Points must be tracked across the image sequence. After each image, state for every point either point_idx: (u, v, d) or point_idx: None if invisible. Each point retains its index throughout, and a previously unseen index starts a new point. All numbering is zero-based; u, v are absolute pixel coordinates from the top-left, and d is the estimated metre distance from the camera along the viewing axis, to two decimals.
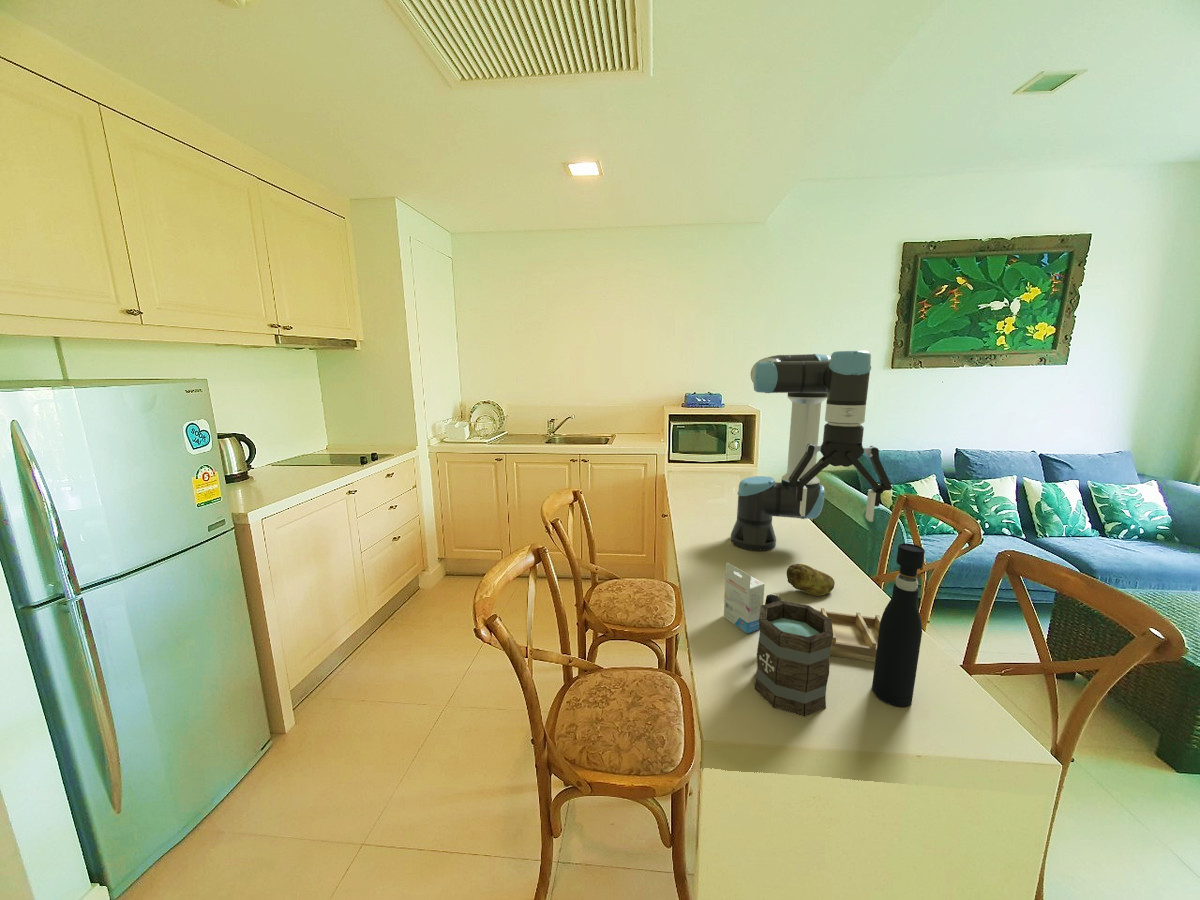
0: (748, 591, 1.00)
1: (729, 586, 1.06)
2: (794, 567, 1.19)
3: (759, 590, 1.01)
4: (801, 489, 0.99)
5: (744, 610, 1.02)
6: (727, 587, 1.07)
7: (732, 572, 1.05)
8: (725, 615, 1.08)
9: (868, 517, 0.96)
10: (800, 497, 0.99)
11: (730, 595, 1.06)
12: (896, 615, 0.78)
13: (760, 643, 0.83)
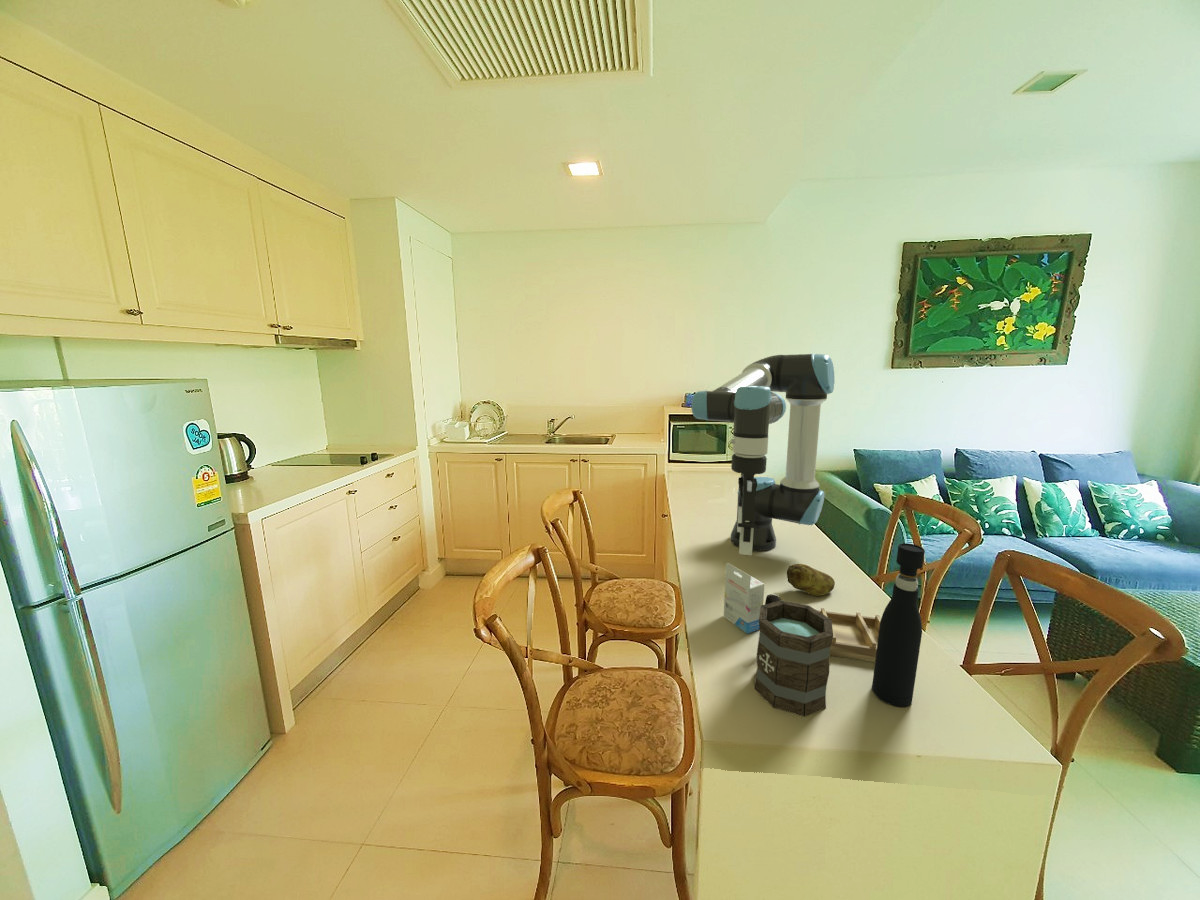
0: (748, 591, 1.00)
1: (729, 586, 1.06)
2: (794, 567, 1.19)
3: (759, 590, 1.01)
4: None
5: (744, 610, 1.02)
6: (727, 587, 1.07)
7: (732, 572, 1.05)
8: (725, 615, 1.08)
9: None
10: None
11: (730, 595, 1.06)
12: (896, 615, 0.78)
13: (760, 643, 0.83)
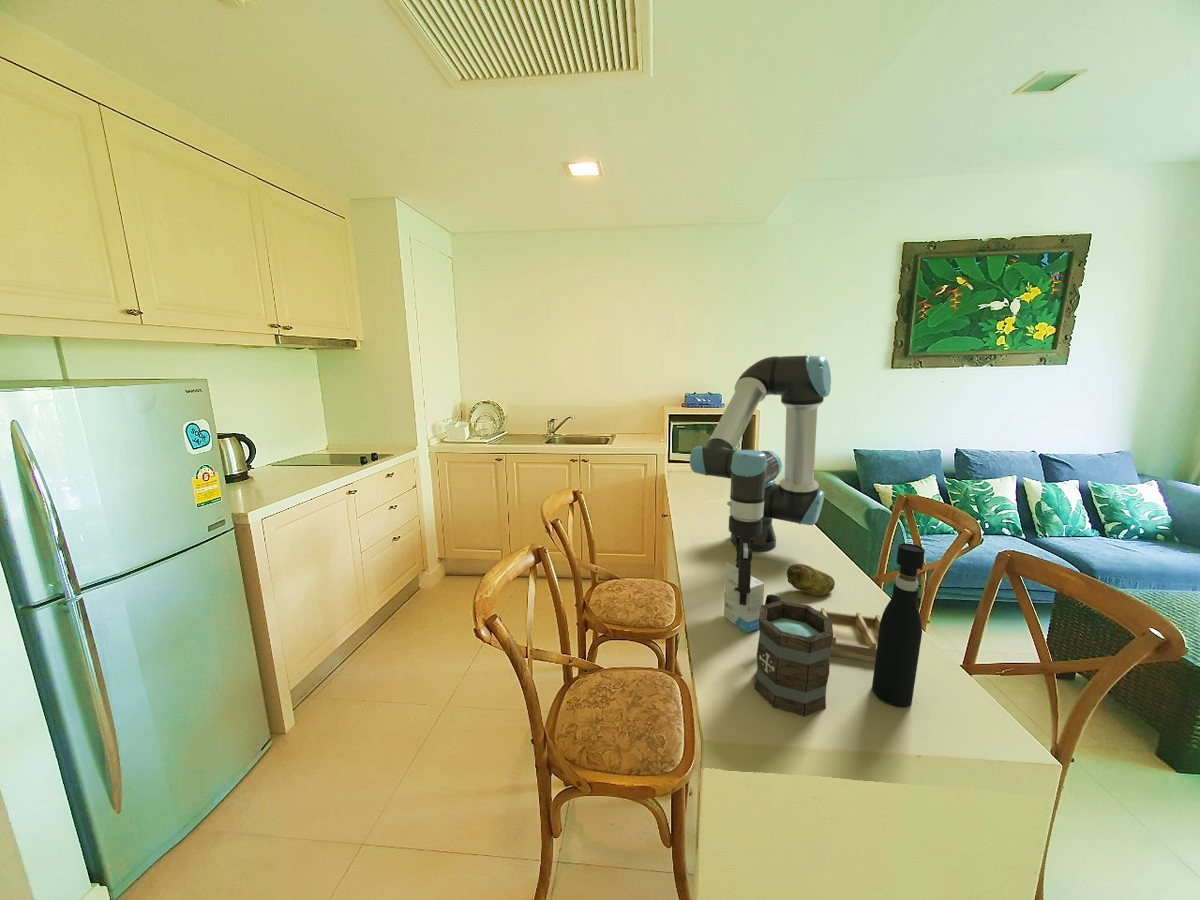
0: None
1: (729, 585, 1.06)
2: (794, 567, 1.19)
3: (759, 589, 1.01)
4: None
5: None
6: (727, 586, 1.07)
7: (732, 572, 1.05)
8: (725, 614, 1.09)
9: None
10: None
11: (730, 594, 1.06)
12: (896, 615, 0.78)
13: (760, 643, 0.83)
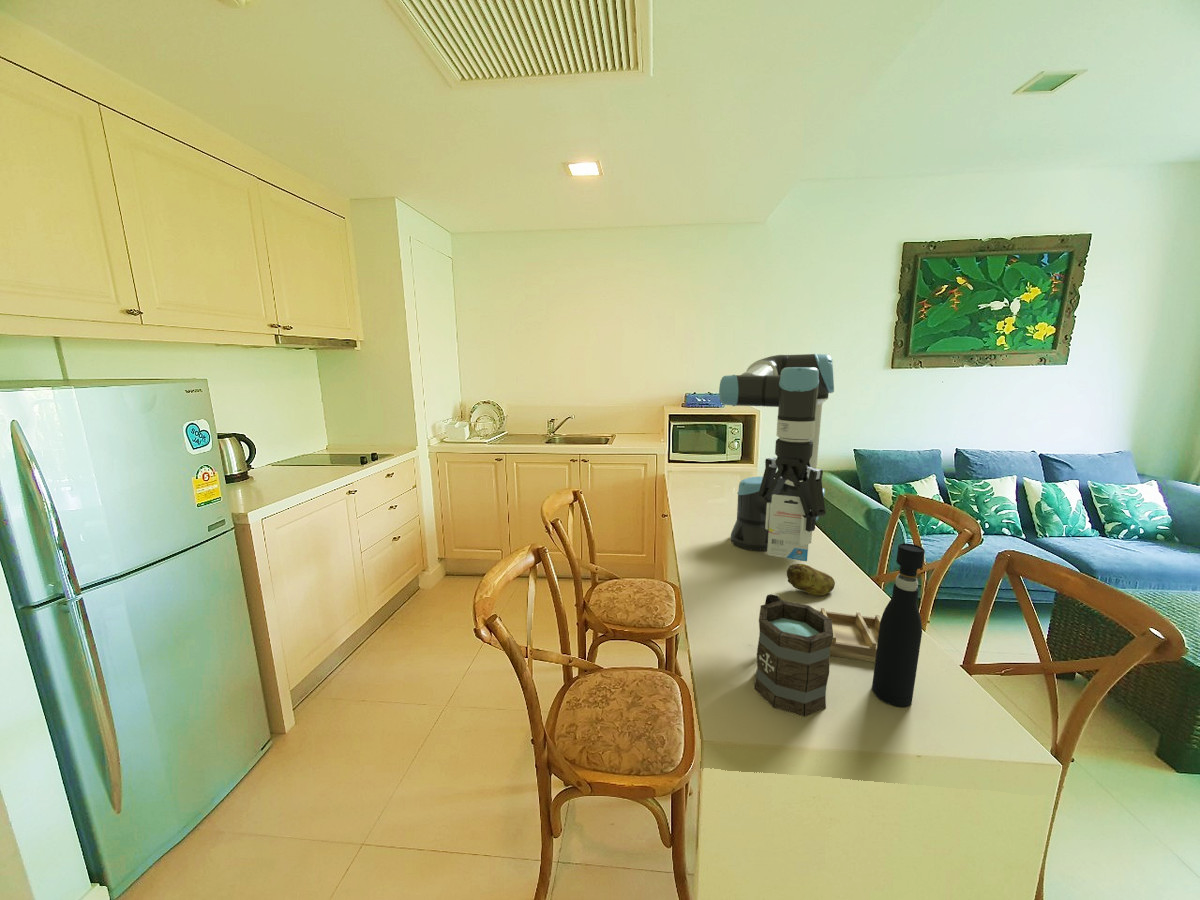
0: None
1: (778, 519, 0.97)
2: (794, 567, 1.19)
3: None
4: None
5: None
6: (774, 521, 0.98)
7: (782, 502, 0.97)
8: (771, 553, 1.00)
9: None
10: None
11: (780, 528, 0.98)
12: (896, 615, 0.78)
13: (760, 643, 0.83)
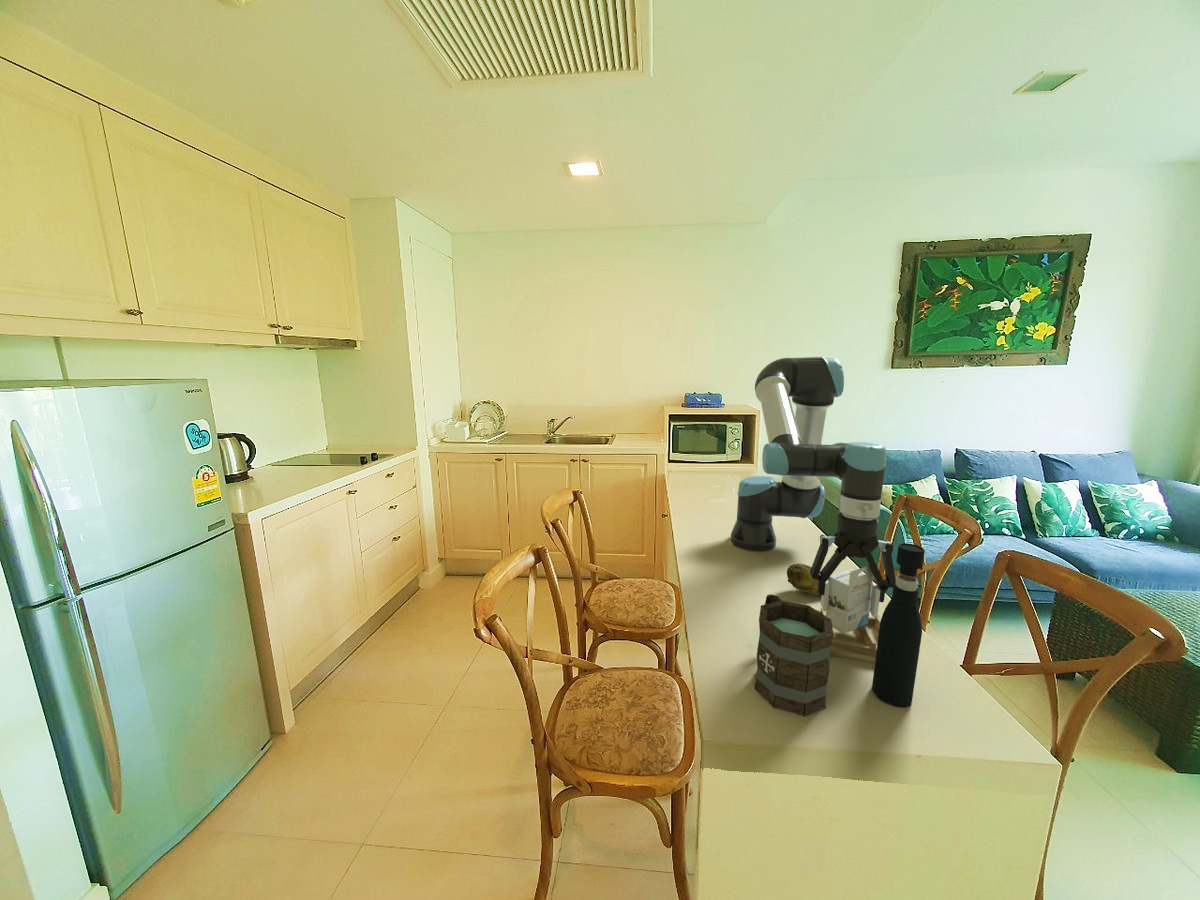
0: (872, 581, 0.96)
1: (854, 594, 0.94)
2: (794, 567, 1.19)
3: None
4: (823, 583, 0.97)
5: (867, 604, 0.97)
6: (851, 598, 0.94)
7: (857, 577, 0.93)
8: (847, 630, 0.95)
9: (872, 612, 0.95)
10: (822, 591, 0.97)
11: (854, 603, 0.94)
12: (896, 615, 0.78)
13: (760, 643, 0.83)
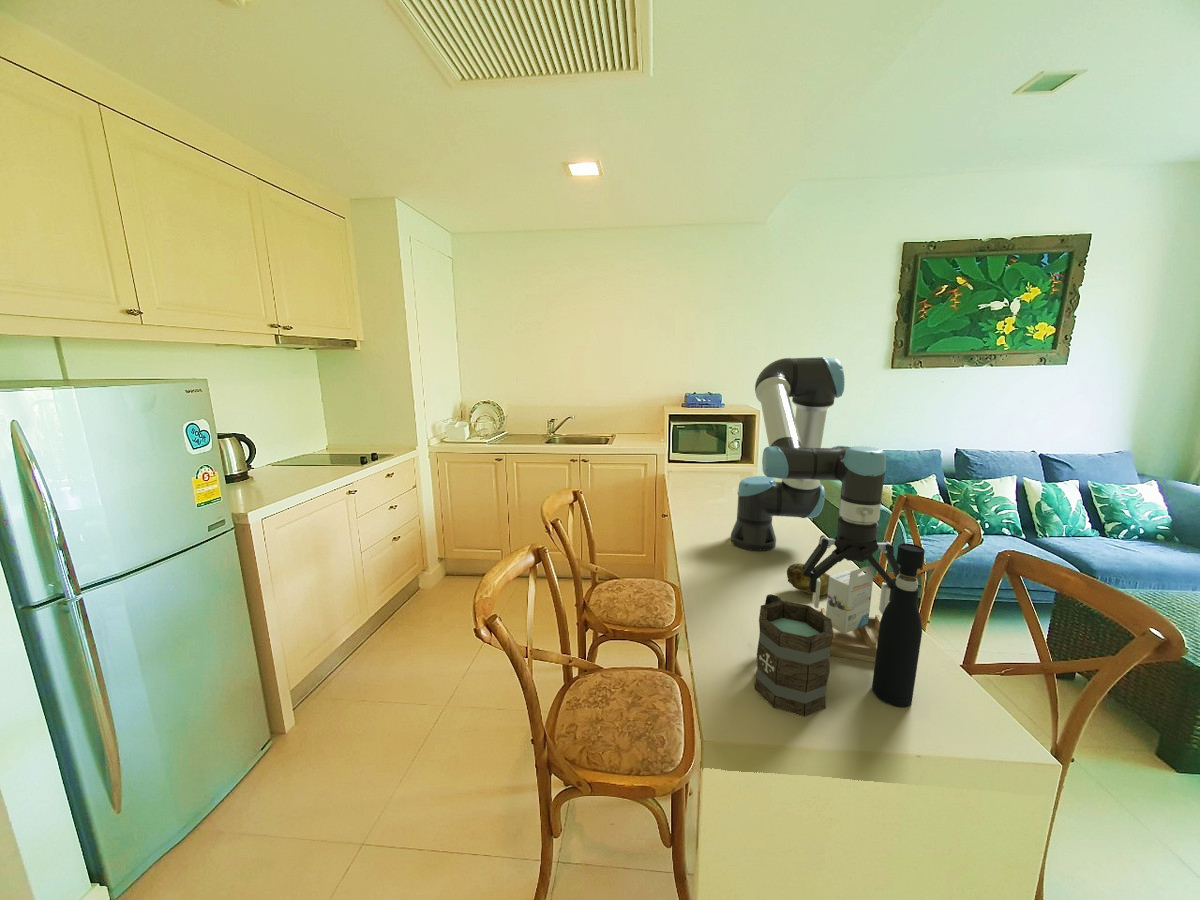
0: (872, 581, 0.96)
1: (854, 594, 0.94)
2: (794, 567, 1.19)
3: None
4: (814, 581, 0.98)
5: (867, 604, 0.97)
6: (851, 598, 0.94)
7: (857, 577, 0.93)
8: (847, 630, 0.95)
9: (882, 611, 0.95)
10: (813, 588, 0.98)
11: (854, 603, 0.94)
12: (896, 615, 0.78)
13: (760, 643, 0.83)
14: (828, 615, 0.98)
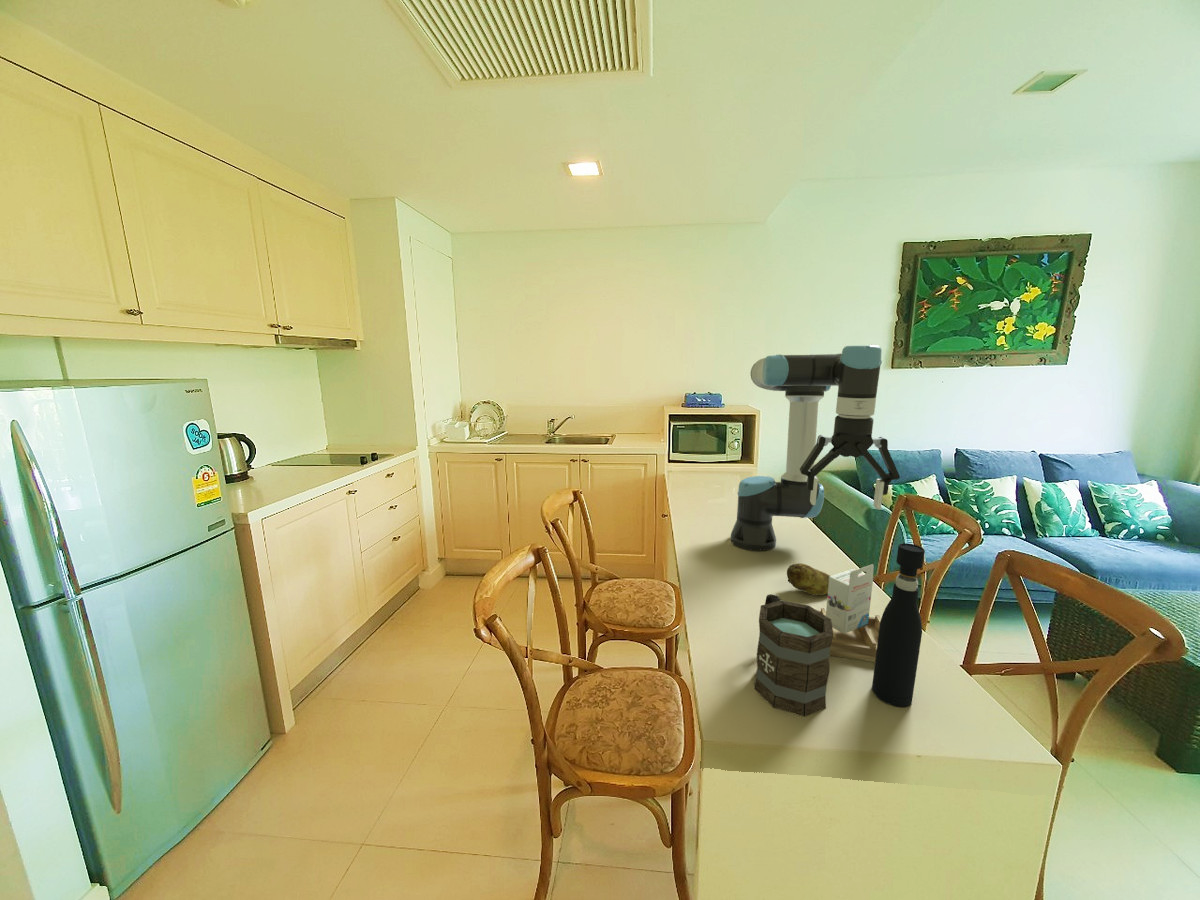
0: (872, 581, 0.96)
1: (854, 594, 0.94)
2: (794, 567, 1.19)
3: None
4: (812, 479, 1.02)
5: (867, 604, 0.97)
6: (851, 598, 0.94)
7: (857, 577, 0.93)
8: (847, 630, 0.95)
9: (876, 505, 1.00)
10: (811, 486, 1.03)
11: (854, 603, 0.94)
12: (896, 615, 0.78)
13: (760, 643, 0.83)
14: (828, 615, 0.98)
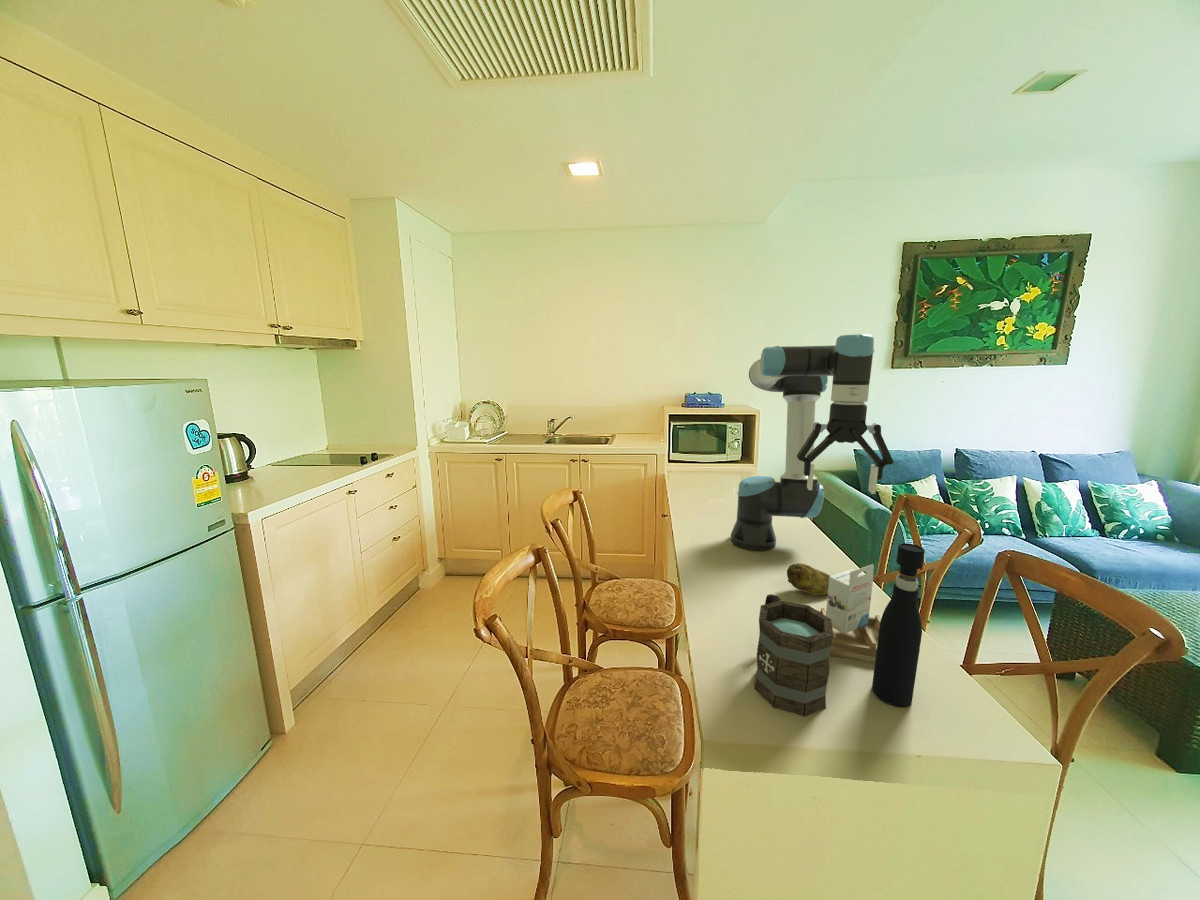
0: (872, 581, 0.96)
1: (854, 594, 0.94)
2: (794, 567, 1.19)
3: None
4: (809, 465, 1.06)
5: (867, 604, 0.97)
6: (851, 598, 0.94)
7: (857, 577, 0.93)
8: (847, 630, 0.95)
9: (871, 490, 1.03)
10: (808, 472, 1.06)
11: (854, 603, 0.94)
12: (896, 615, 0.78)
13: (760, 643, 0.83)
14: (828, 615, 0.98)
